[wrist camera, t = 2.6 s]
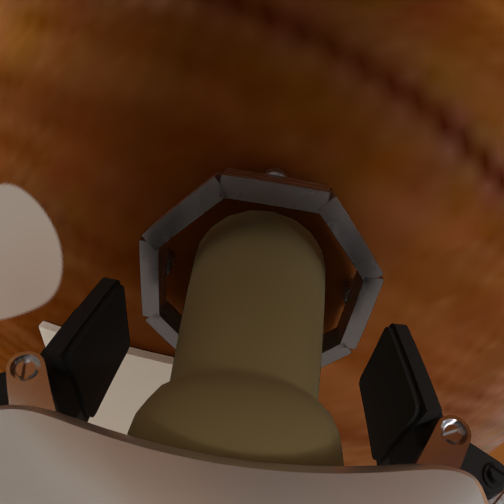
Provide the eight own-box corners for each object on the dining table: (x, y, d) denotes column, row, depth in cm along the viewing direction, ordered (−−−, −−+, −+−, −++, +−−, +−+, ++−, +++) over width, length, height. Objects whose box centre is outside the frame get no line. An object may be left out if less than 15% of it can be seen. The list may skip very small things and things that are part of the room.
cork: (208, 327, 16) (149, 533, 7) (181, 217, 14) (33, 438, 4) (326, 320, 16) (350, 543, 6) (322, 203, 13) (402, 466, 3)
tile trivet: (42, 320, 18) (38, 326, 17) (199, 362, 18) (196, 369, 17) (77, 413, 23) (75, 418, 22) (196, 448, 23) (195, 453, 22)
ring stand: (158, 152, 13) (137, 162, 11) (391, 190, 12) (410, 207, 11) (158, 333, 17) (145, 361, 15) (332, 361, 17) (337, 391, 15)
